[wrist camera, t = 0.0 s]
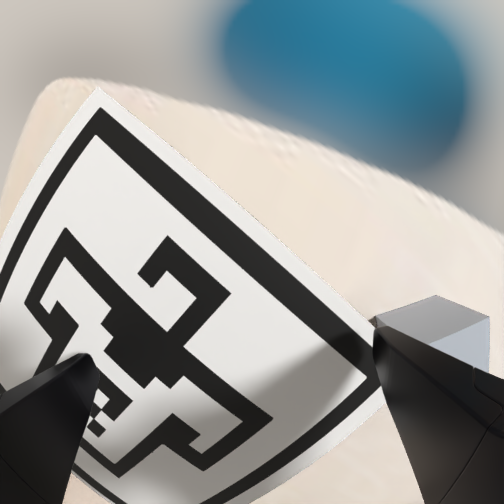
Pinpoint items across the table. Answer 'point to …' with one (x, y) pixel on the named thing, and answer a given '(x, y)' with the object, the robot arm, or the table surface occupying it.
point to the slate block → (444, 328)
